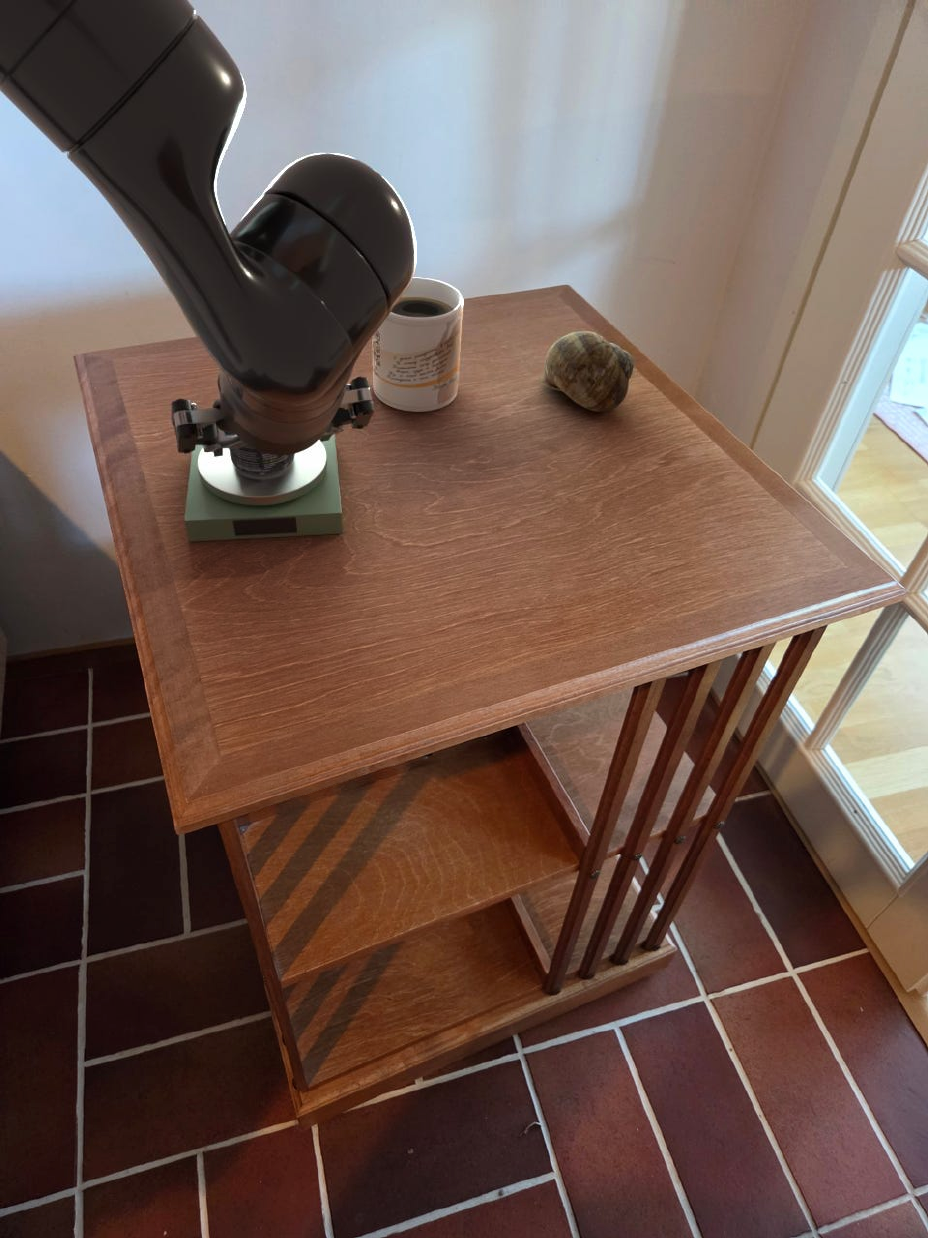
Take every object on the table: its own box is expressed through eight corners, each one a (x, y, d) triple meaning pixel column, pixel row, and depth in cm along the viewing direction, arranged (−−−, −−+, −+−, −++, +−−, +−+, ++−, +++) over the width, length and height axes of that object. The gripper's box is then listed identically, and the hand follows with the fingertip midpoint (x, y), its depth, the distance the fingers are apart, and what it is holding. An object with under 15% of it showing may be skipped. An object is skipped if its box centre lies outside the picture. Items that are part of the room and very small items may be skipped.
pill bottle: (289, 436, 81) (277, 328, 73) (300, 472, 78) (289, 361, 69) (227, 444, 80) (208, 334, 72) (235, 481, 76) (216, 369, 68)
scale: (188, 542, 76) (180, 508, 73) (198, 452, 85) (191, 418, 82) (343, 534, 78) (341, 500, 75) (335, 447, 88) (333, 414, 85)
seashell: (638, 419, 95) (654, 355, 89) (562, 428, 93) (573, 363, 87) (599, 369, 102) (611, 306, 96) (528, 376, 100) (536, 313, 94)
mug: (353, 398, 94) (349, 304, 86) (396, 350, 102) (396, 260, 94) (439, 420, 92) (443, 326, 84) (476, 370, 100) (483, 280, 92)
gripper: (380, 311, 54) (345, 379, 69) (150, 335, 50) (168, 401, 65) (403, 426, 54) (363, 468, 70) (177, 458, 50) (188, 495, 66)
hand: (269, 436), depth 68 cm, fingers open, 8 cm apart
